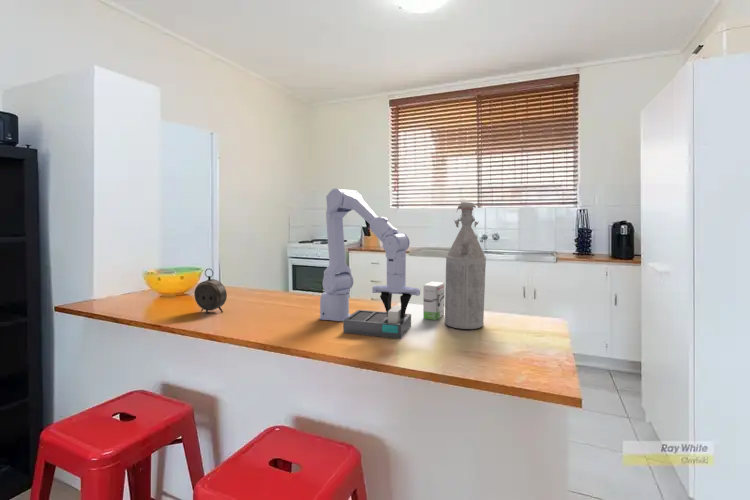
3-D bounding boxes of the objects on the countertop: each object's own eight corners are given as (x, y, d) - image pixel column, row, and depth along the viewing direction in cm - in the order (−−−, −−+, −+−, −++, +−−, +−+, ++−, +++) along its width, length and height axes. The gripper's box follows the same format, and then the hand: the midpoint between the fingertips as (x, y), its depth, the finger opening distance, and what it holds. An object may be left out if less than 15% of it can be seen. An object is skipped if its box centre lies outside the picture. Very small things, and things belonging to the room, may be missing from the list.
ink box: (436, 320, 132) (436, 286, 131) (422, 318, 134) (423, 284, 133) (444, 314, 139) (445, 282, 138) (431, 313, 142) (431, 280, 141)
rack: (342, 333, 118) (342, 320, 118) (358, 321, 131) (358, 309, 130) (400, 339, 112) (401, 325, 112) (411, 326, 125) (411, 314, 125)
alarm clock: (228, 311, 144) (226, 268, 142) (219, 315, 139) (217, 270, 137) (202, 309, 147) (200, 267, 145) (192, 313, 141) (190, 269, 140)
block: (387, 330, 117) (387, 311, 116) (394, 323, 124) (394, 305, 124) (397, 331, 116) (397, 312, 115) (403, 324, 123) (404, 305, 123)
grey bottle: (442, 330, 121) (444, 201, 117) (446, 315, 138) (448, 202, 134) (484, 333, 118) (488, 200, 114) (484, 318, 134) (487, 202, 131)
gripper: (369, 274, 117) (369, 318, 118) (417, 276, 112) (416, 322, 113) (376, 270, 123) (376, 312, 125) (421, 272, 119) (421, 316, 120)
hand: (395, 317), depth 119 cm, fingers open, 4 cm apart
